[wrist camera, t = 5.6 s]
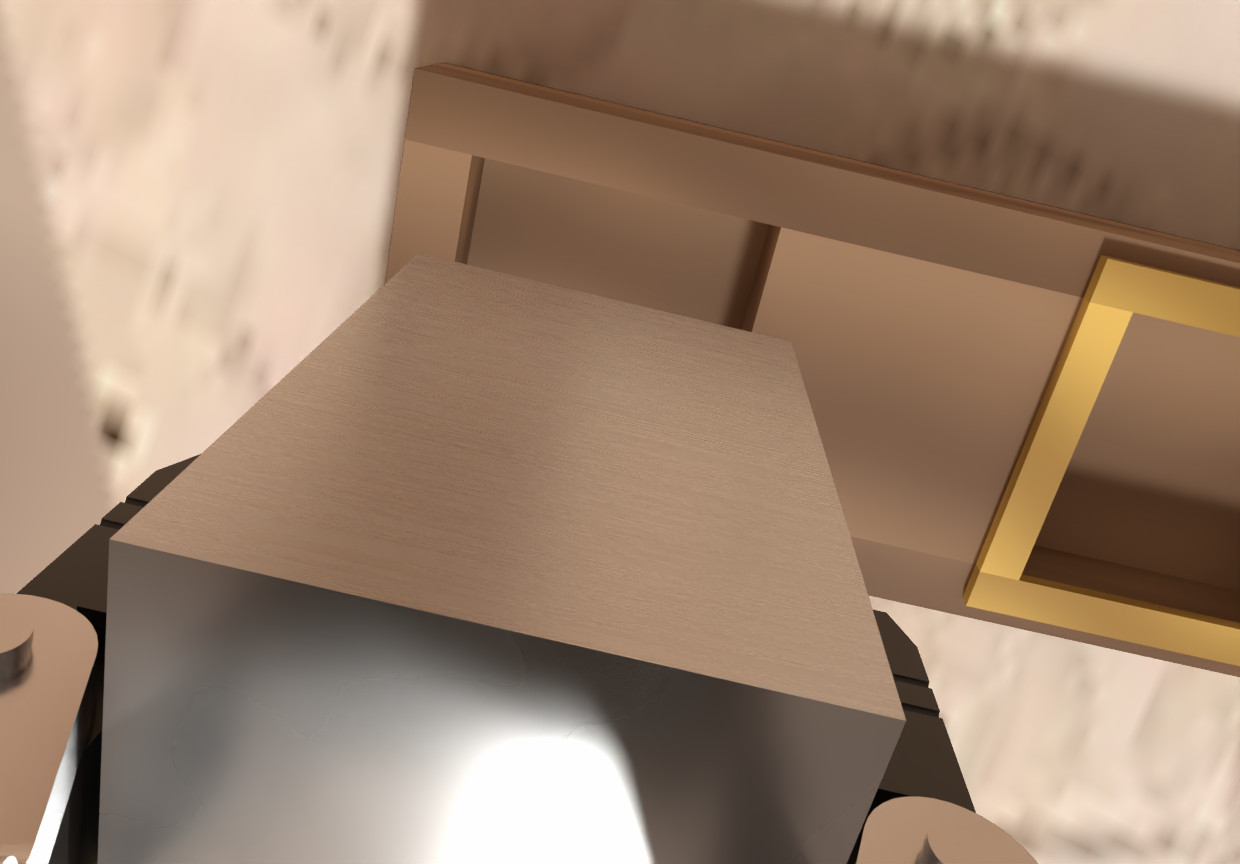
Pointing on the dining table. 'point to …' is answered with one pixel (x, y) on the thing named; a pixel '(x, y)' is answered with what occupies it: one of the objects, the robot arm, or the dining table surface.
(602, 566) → the block
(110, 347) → the dining table surface
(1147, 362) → the rail
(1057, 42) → the dining table surface
